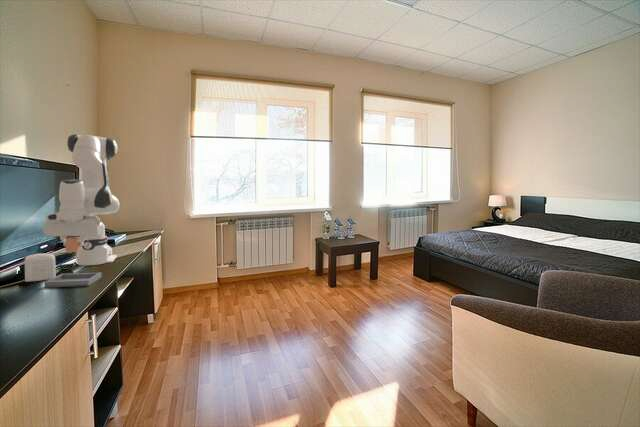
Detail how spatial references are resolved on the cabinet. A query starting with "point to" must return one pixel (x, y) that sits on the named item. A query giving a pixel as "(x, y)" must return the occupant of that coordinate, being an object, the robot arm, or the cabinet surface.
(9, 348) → the cabinet surface
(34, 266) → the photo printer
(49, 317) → the cabinet surface
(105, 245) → the robot arm
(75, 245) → the terracotta block
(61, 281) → the tray
